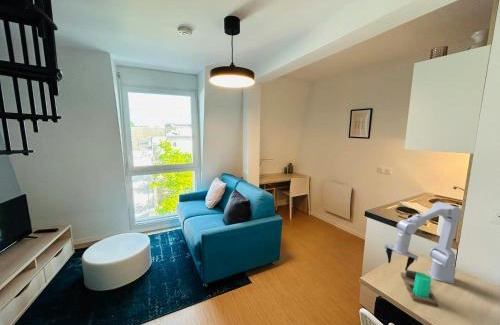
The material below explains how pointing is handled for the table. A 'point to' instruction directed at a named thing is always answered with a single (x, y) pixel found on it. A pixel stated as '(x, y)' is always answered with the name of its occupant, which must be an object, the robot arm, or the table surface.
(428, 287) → the candle
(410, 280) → the brown compartment tray
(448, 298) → the table surface
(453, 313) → the table surface
